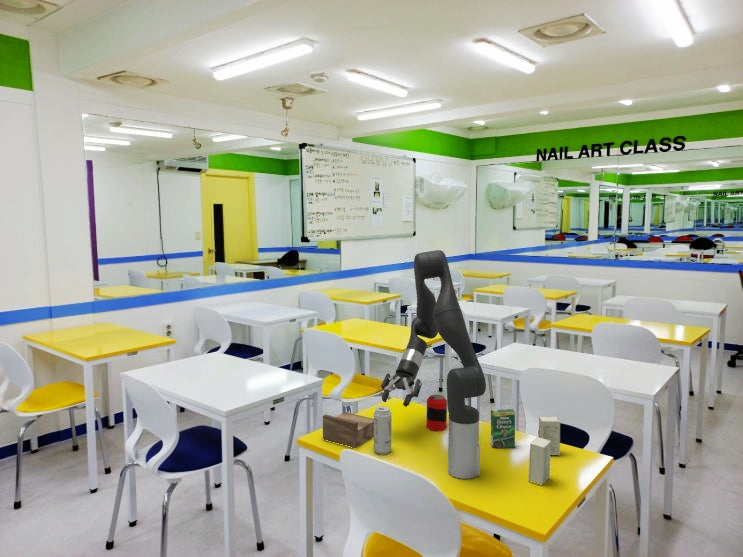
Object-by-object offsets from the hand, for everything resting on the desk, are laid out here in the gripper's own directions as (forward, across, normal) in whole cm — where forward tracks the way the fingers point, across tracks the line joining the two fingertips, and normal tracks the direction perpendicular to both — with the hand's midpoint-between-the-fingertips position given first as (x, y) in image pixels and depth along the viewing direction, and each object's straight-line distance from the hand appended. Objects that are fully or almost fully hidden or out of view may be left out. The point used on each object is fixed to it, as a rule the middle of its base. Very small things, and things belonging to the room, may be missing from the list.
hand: (394, 403), depth 180 cm
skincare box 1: (-5, +48, +26) cm, 55 cm away
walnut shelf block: (+13, -16, +7) cm, 22 cm away
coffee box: (-2, +33, +23) cm, 41 cm away
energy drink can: (+16, 0, +5) cm, 17 cm away
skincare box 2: (+10, +50, +11) cm, 52 cm away
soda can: (-5, +6, +26) cm, 27 cm away
